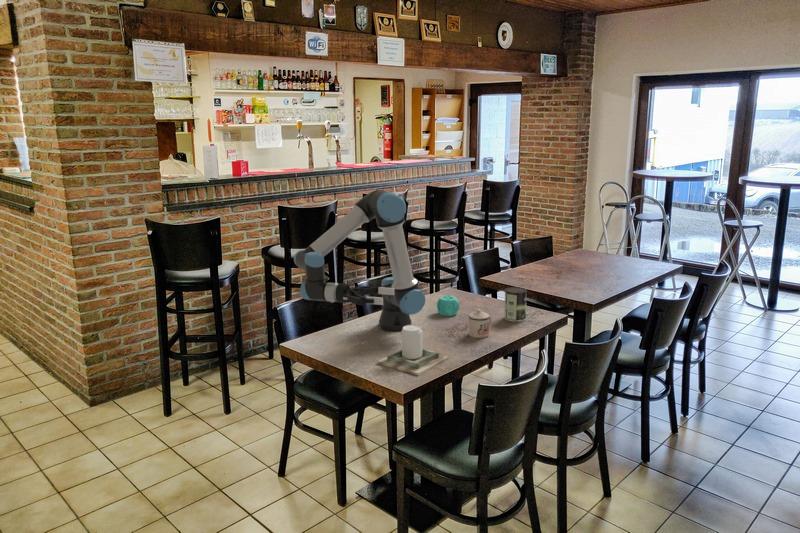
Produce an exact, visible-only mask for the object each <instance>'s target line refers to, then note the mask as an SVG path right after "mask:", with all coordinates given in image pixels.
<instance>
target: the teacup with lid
mask: <svg viewBox="0 0 800 533" xmlns="http://www.w3.org/2000/svg"><path fill="white" fill-rule="evenodd" d="M491 324H492V317H490V314H489V313H487V312H484V311H483V310H482V309H480V308H478V309H476V311H474V312H471V313H469V315H468V335H469V336H470V337H472V338H473V339H484V338H488V337H489V336H490V326H491Z"/></svg>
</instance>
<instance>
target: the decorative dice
mask: <svg viewBox="0 0 800 533" xmlns="http://www.w3.org/2000/svg"><path fill="white" fill-rule="evenodd" d="M459 309H460V303H459V300H458V299H457V297H456V296H453V295H443V296H441V297H440V298H438V300H437V302H436V310H437V312H438V314H439V315H441V316H443V317H453V316H456V315H457V313H458V312H459Z"/></svg>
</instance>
